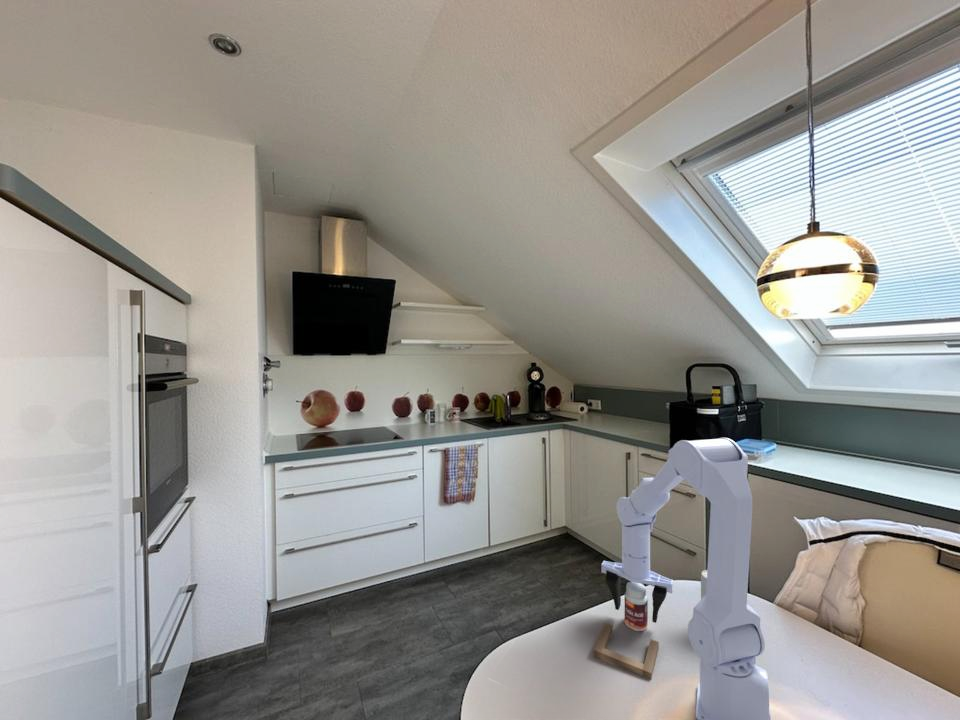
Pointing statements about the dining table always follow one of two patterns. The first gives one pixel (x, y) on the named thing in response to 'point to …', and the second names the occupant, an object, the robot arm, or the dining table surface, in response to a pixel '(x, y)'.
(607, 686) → the dining table surface
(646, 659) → the socket block
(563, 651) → the dining table surface
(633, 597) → the pill bottle
